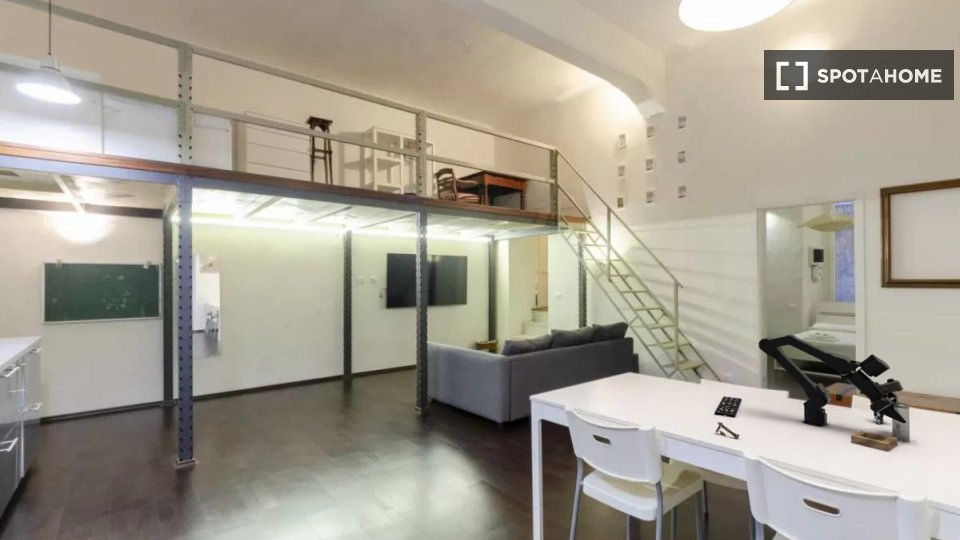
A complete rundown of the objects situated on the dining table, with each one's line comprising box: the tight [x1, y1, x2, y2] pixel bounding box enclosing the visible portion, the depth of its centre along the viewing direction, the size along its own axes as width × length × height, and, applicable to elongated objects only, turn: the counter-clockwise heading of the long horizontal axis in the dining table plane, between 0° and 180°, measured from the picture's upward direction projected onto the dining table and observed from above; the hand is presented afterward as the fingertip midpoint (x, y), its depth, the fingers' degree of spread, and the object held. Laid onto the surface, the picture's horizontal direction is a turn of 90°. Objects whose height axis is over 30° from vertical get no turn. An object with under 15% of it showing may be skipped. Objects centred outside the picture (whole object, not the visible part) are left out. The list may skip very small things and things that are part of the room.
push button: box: [869, 401, 885, 425], centre depth 180 cm, size 7×5×10 cm
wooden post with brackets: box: [715, 421, 740, 440], centre depth 166 cm, size 2×8×4 cm, turn 35°
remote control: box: [714, 395, 742, 419], centre depth 202 cm, size 8×32×2 cm, turn 145°
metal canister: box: [891, 401, 911, 443], centre depth 161 cm, size 5×5×13 cm
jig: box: [850, 429, 899, 452], centre depth 157 cm, size 10×10×2 cm
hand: (905, 421), depth 160 cm, fingers open, 6 cm apart
